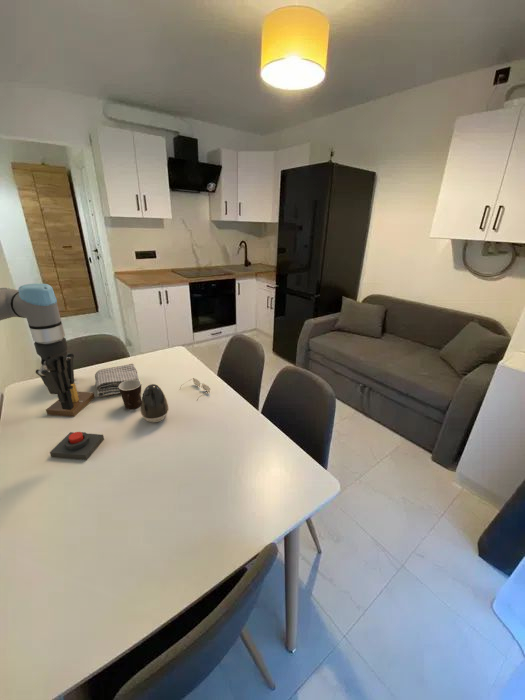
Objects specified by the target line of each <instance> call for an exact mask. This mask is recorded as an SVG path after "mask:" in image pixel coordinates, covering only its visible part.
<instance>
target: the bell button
mask: <svg viewBox="0 0 525 700" xmlns="http://www.w3.org/2000/svg"><path fill="white" fill-rule="evenodd" d="M82 432H83V431H75V432H74V433H72V434H71V435H70V436H69V441H70V443H71V444H75V443H79V442H80V441H82V440H83V438H84V437H83V434H82Z"/></svg>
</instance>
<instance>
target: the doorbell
mask: <svg viewBox="0 0 525 700" xmlns="http://www.w3.org/2000/svg"><path fill="white" fill-rule="evenodd" d="M81 432H82V434H83V437H84V438H83V440H82V441H80V442H79V443H75V444H71V443H70V441H69V436H70V435H71V434H72V433H75V432H74V431H70V432H68V434H67V435H66V436H65V437H64V438H62V440H61V441H60V442H59V443H57V445H56V446H55V447H53V449H52V450H50V452H49V454H50V457H51V458H53V459H66V460H79V461H88V460H89V459H90V457H91V456H92V455H93V454H94V453H95V451H96V450H97V449H98V448H99V446H100V445H101V444H102V443H103V442H104V441H105V437H104V434H98V433H87V432H85V431H84V432H83V431H81Z"/></svg>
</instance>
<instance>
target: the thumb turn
mask: <svg viewBox="0 0 525 700" xmlns="http://www.w3.org/2000/svg"><path fill="white" fill-rule="evenodd" d="M71 386H73V389H70V390H71V394H72V396H71V398H72V402H77V401H78V400H79V398H78V394H77V392H78V390H77V386H76V383H75V382H74V384H71Z"/></svg>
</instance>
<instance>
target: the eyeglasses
mask: <svg viewBox="0 0 525 700" xmlns="http://www.w3.org/2000/svg"><path fill="white" fill-rule="evenodd" d="M191 380H192V382H193V384H194V386H196V385H197V386H196V387H198V386H199V387H198V388H200V387H201V388H202V389H203V391H205V390H206V391H207V392H206V391H205V392H204V393H203V394H201V395H200V397H202V396H203V395H205V394H206V393H208V392H209V393H208V394H210V392H211V387H210V386H209V385H207V384H205V383H202V382H201V381H200V380H199V379H197V378H195V377H193V378H191V379H189V380H188V381H186V382H184V383H183V384H181V386H180V387H179V389H181V388H182V386H183V385H184V384H186V383H188V382H190V381H191ZM198 400H199V398H197V400H196V401H198Z"/></svg>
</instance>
